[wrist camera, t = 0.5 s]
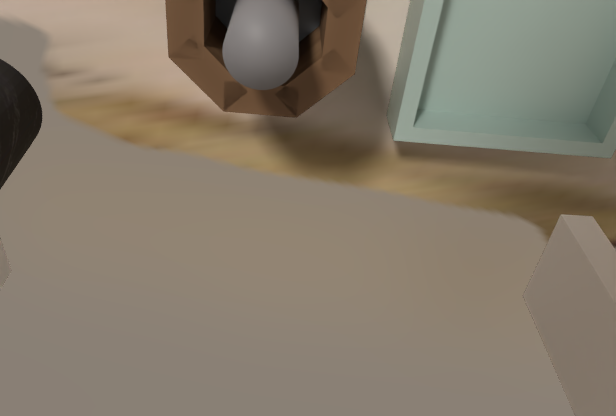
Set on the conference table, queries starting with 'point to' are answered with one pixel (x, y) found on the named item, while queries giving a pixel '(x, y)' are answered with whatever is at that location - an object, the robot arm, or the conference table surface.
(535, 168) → the conference table surface
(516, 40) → the tray
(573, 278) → the robot arm
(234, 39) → the stake stand
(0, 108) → the travel mug
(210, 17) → the ring
